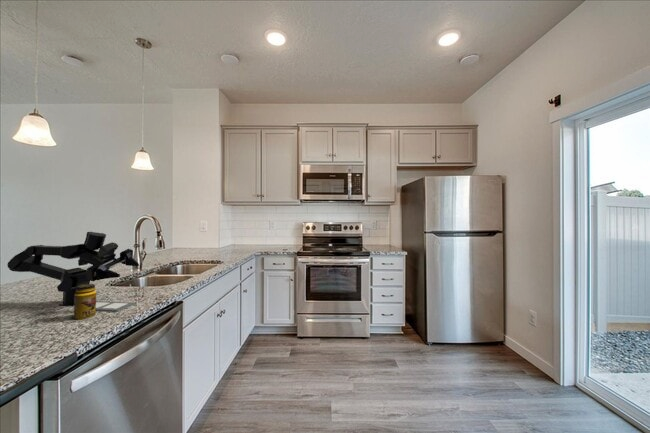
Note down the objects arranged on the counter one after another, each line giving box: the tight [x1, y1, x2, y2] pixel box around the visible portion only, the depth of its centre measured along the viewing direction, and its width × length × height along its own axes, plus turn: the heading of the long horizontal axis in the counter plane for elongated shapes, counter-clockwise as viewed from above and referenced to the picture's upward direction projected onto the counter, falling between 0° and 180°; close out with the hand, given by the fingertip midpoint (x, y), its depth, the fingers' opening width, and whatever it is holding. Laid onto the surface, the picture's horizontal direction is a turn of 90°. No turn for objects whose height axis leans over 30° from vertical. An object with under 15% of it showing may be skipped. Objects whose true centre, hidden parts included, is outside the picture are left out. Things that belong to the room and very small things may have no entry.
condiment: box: [62, 283, 99, 324], centre depth 96 cm, size 7×8×12 cm
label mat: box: [96, 300, 136, 313], centre depth 107 cm, size 18×9×1 cm, turn 87°
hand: (129, 270), depth 108 cm, fingers open, 9 cm apart
